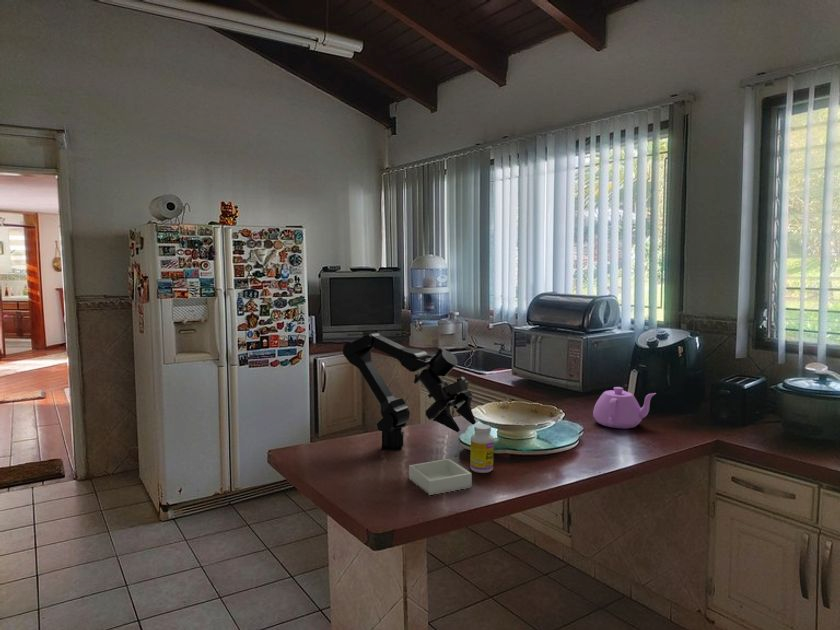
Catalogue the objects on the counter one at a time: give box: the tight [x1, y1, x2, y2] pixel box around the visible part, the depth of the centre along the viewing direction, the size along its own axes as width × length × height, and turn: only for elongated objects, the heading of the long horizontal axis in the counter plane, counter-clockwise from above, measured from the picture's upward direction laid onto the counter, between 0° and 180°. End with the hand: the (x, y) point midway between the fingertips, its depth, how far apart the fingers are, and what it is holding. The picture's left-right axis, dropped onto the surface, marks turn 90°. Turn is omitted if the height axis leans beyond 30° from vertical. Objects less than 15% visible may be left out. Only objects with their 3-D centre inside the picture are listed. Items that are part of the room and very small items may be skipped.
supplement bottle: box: [469, 423, 495, 474], centre depth 169 cm, size 7×7×13 cm
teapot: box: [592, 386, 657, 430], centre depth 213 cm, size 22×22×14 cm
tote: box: [408, 458, 473, 496], centre depth 159 cm, size 13×13×4 cm
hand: (466, 427), depth 171 cm, fingers open, 9 cm apart
